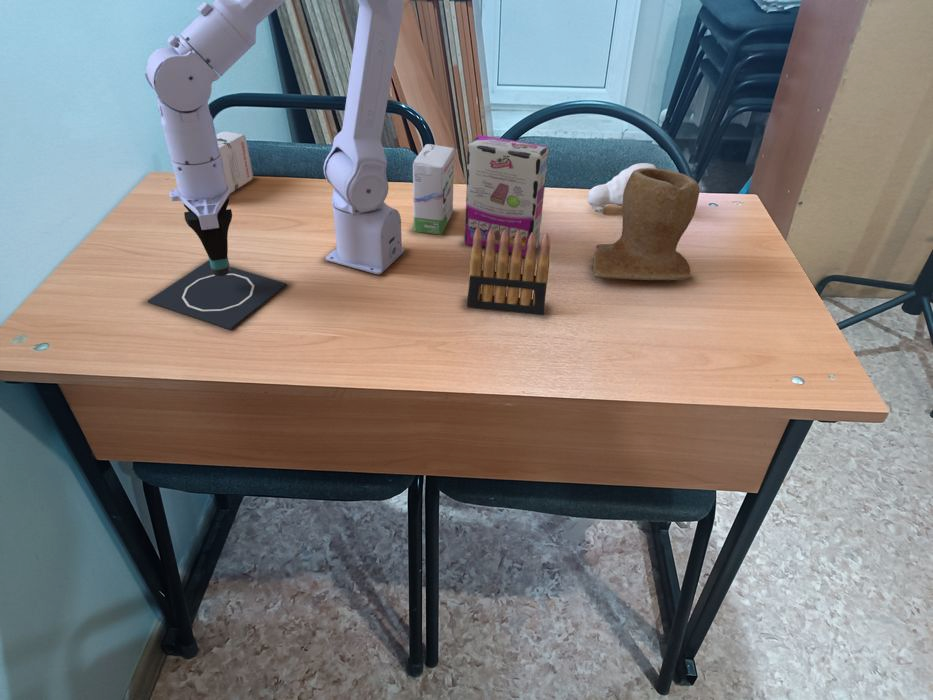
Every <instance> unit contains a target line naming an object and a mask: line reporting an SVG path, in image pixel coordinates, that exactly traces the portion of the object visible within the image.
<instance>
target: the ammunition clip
mask: <svg viewBox="0 0 933 700" xmlns="http://www.w3.org/2000/svg"><path fill="white" fill-rule="evenodd" d="M471 247H472V248H471V253H470V258H469V259H470V261H469V278H468V279H469V280H468V281H469V282H468V291H467V301H466V307H467V308H469V309H477V310H479V309H480V310H487V311H488V310H489V311H498V312H499V311H500V312H509V313H517V314H527V315H528V314H529V315H539V316H544V315H545V307H546V297H547V296H546V294H547V286H548V278H549V271H550V250H551V240H550V236H549V233H548V232H546V233H544V236H543V238H542V241H541V244H540V250H539V255H538V259H536V252H537V251H536V250H537V248H536V238H535V234H534V232H532V233H531V235H530V237H529V240H528V243H527V249H526V254H525V257H522V237H521V233H520V231H518V232H517V233H516V236H515V239H514V243H513V250H512V254H508V252H509V249H508V247H509V239H508V233H507V230H506V229H505V230H504V231H503V233H502V236H501V239H500V246H499V252H498V251H497V252H498V254H497V256H496V251H495V234H494V230H493V228H491V229H490V231H489V233H488V236H487V241H486V249H485V250H484V255H483V248H482V236H481V231H480V228H479V227H477V228H476V231H475V233H474V238H473V246H471ZM509 255H510V256H509ZM523 258H524V259H523ZM536 260H537V261H536Z"/></svg>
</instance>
